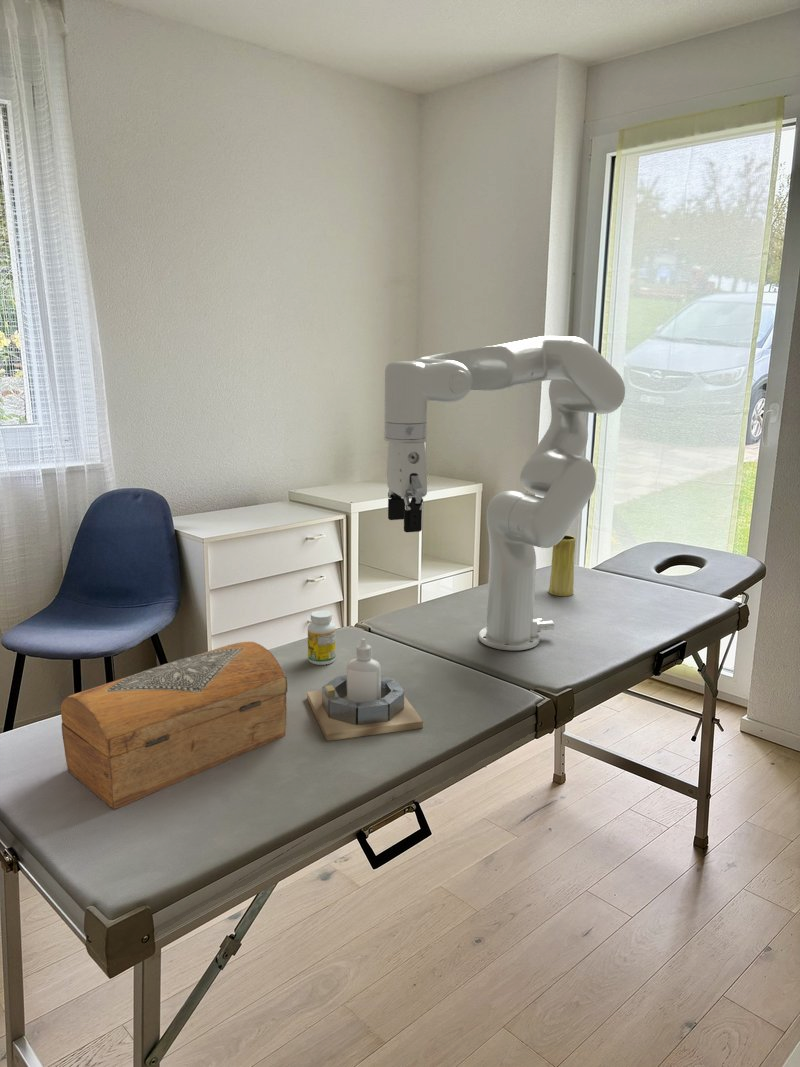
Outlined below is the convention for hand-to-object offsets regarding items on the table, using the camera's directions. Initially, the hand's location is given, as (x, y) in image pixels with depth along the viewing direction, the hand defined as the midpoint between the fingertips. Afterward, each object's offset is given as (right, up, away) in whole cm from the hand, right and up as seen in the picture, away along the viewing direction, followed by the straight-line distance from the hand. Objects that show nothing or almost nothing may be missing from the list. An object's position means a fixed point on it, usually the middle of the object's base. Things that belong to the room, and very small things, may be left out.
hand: (404, 525), depth 150 cm
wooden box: (-35, -35, -24) cm, 55 cm away
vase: (+39, -16, +54) cm, 68 cm away
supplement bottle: (-16, -27, +10) cm, 33 cm away
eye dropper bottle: (-7, -31, -11) cm, 34 cm away
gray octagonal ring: (-7, -31, -12) cm, 34 cm away
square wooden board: (-7, -32, -11) cm, 35 cm away
